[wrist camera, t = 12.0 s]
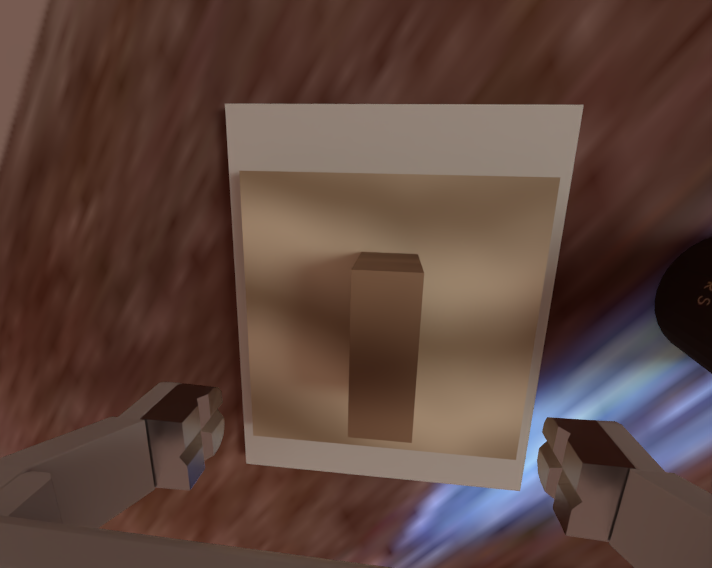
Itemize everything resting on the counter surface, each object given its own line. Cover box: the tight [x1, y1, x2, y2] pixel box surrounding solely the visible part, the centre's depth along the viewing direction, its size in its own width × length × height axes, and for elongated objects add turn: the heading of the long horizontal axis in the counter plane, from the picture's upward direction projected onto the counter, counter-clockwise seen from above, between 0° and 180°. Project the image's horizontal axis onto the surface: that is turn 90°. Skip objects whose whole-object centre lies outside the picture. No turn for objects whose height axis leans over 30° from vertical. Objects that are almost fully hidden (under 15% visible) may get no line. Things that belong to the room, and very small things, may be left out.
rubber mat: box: [225, 104, 583, 491], centre depth 19 cm, size 20×16×1 cm
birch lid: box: [239, 171, 560, 460], centre depth 17 cm, size 14×14×5 cm
